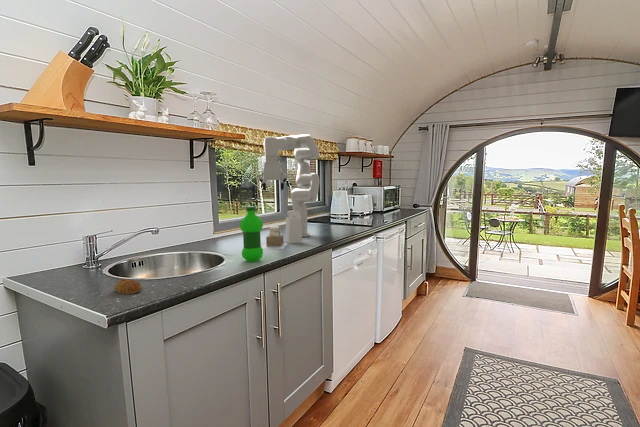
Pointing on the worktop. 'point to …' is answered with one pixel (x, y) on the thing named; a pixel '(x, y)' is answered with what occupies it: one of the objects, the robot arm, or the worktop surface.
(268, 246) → the blueprint board
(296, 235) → the milk carton
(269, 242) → the walnut base block
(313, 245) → the worktop surface
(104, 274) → the worktop surface
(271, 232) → the cream cube
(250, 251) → the plastic bottle
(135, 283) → the pastry
